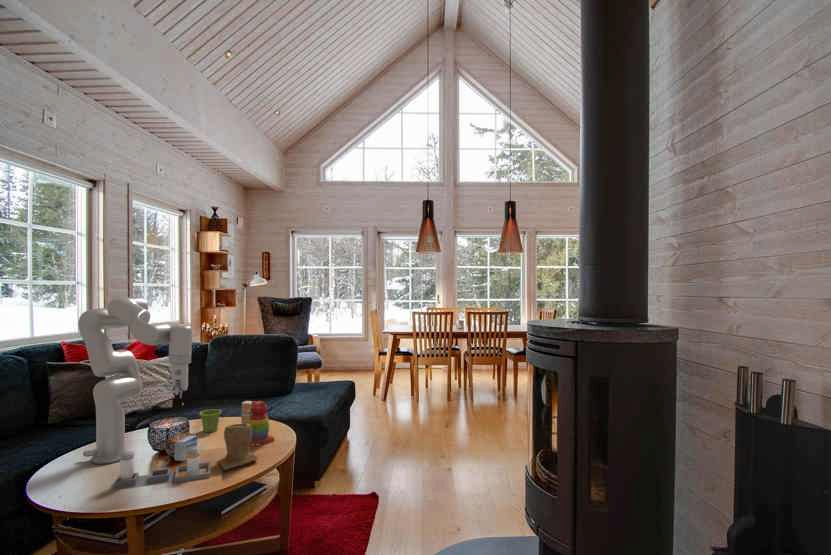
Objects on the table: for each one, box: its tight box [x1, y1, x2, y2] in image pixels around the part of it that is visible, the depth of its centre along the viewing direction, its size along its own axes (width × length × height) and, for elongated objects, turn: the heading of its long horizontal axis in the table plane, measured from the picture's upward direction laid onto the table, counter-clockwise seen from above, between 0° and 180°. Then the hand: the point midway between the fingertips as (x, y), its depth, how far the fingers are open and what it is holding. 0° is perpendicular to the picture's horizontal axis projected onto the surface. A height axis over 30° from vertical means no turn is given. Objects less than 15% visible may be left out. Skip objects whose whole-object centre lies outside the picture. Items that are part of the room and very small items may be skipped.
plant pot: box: [199, 409, 222, 433], centre depth 223 cm, size 9×9×9 cm
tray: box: [173, 461, 212, 483], centre depth 169 cm, size 11×11×3 cm
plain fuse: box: [119, 451, 135, 481], centre depth 162 cm, size 4×4×10 cm
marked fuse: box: [186, 446, 200, 476], centre depth 169 cm, size 4×4×10 cm
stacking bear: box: [248, 400, 275, 446], centre depth 207 cm, size 11×10×18 cm
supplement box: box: [240, 400, 257, 424], centre depth 224 cm, size 8×5×13 cm, turn 80°
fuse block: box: [110, 467, 175, 492], centre depth 164 cm, size 18×10×4 cm, turn 112°
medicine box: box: [174, 435, 198, 462], centre depth 186 cm, size 8×4×9 cm, turn 168°
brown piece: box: [217, 423, 259, 471], centre depth 182 cm, size 15×12×15 cm
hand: (178, 405), depth 175 cm, fingers open, 9 cm apart
